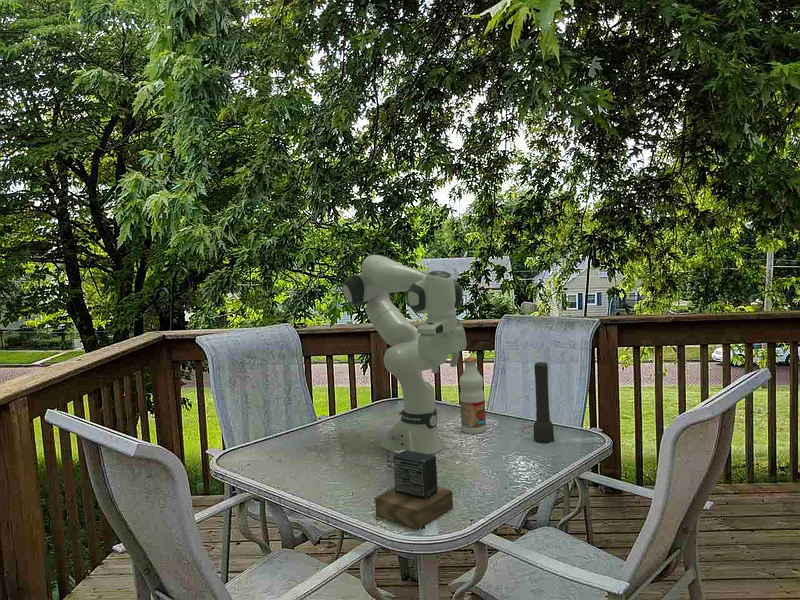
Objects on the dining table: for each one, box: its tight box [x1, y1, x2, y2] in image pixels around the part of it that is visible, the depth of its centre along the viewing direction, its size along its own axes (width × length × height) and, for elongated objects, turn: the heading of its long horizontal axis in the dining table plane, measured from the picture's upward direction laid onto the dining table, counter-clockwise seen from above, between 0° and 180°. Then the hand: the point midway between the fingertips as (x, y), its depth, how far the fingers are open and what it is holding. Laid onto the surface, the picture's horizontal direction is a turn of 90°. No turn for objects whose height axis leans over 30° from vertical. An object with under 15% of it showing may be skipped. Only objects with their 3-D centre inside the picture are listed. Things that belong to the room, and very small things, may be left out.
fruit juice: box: [459, 357, 487, 435], centre depth 236 cm, size 9×9×28 cm
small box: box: [392, 450, 438, 500], centre depth 169 cm, size 11×6×10 cm, turn 54°
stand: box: [374, 486, 454, 530], centre depth 169 cm, size 15×15×5 cm
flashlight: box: [533, 361, 555, 444], centre depth 220 cm, size 7×28×7 cm
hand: (444, 369), depth 189 cm, fingers open, 8 cm apart
